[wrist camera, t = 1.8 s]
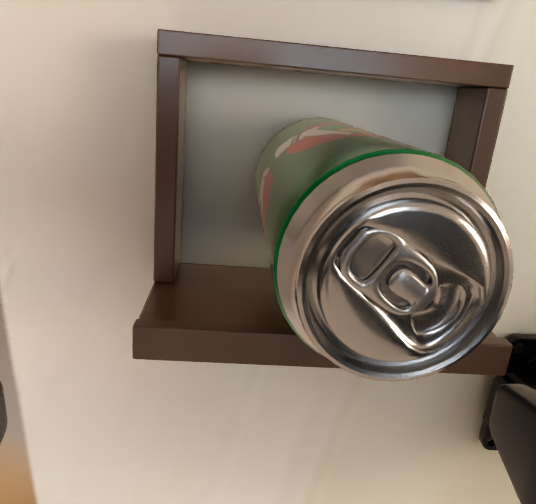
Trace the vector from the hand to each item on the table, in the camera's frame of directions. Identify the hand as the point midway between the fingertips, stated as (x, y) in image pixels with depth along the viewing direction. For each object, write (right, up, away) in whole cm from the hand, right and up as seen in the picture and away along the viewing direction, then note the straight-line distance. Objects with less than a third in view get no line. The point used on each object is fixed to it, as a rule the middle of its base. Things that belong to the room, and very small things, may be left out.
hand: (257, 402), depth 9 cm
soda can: (+2, +6, +12) cm, 14 cm away
